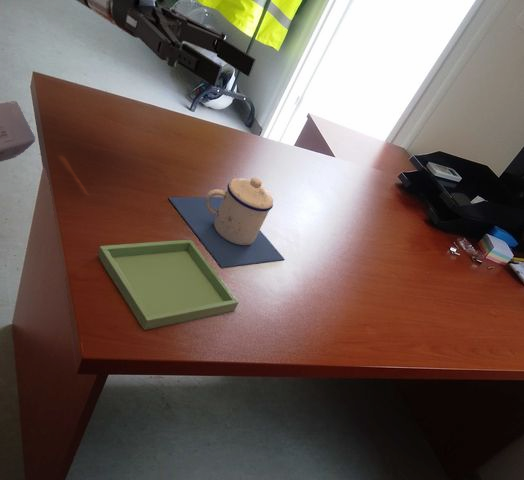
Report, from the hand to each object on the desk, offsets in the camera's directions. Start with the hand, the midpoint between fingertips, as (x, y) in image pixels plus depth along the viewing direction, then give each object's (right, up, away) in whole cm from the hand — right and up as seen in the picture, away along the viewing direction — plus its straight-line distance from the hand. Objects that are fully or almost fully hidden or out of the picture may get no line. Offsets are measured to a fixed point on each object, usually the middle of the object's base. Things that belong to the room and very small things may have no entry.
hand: (236, 72), depth 73 cm
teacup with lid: (-3, -21, +17) cm, 27 cm away
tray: (-11, -34, -1) cm, 36 cm away
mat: (-3, -21, +17) cm, 27 cm away
